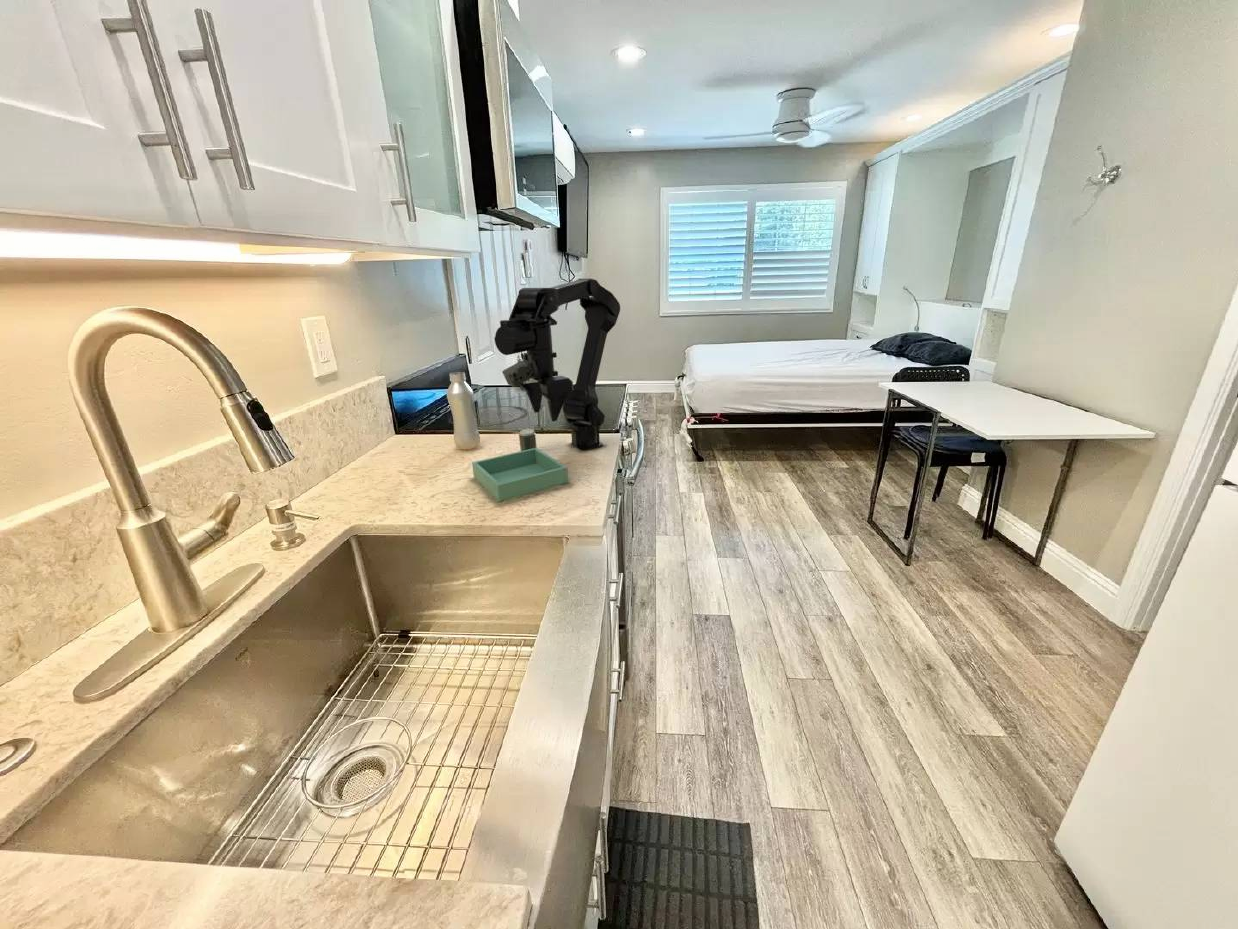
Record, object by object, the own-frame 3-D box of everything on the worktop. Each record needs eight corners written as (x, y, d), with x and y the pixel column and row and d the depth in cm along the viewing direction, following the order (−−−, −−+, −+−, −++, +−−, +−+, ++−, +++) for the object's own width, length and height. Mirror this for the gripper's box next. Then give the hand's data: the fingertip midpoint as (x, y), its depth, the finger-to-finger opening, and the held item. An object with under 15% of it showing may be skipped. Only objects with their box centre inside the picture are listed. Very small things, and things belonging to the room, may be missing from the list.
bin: (537, 464, 118) (536, 447, 117) (568, 485, 106) (567, 467, 105) (474, 480, 110) (471, 462, 109) (500, 505, 98) (497, 485, 97)
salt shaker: (533, 454, 125) (531, 427, 122) (540, 458, 122) (537, 431, 119) (518, 457, 123) (516, 430, 120) (525, 462, 120) (522, 435, 117)
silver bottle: (474, 452, 127) (463, 376, 119) (450, 451, 128) (438, 375, 121) (485, 444, 133) (475, 370, 125) (462, 443, 134) (451, 370, 127)
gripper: (489, 347, 111) (497, 413, 117) (522, 357, 96) (530, 433, 102) (534, 342, 117) (539, 406, 122) (572, 351, 102) (576, 423, 108)
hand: (545, 416), depth 114 cm, fingers open, 9 cm apart
